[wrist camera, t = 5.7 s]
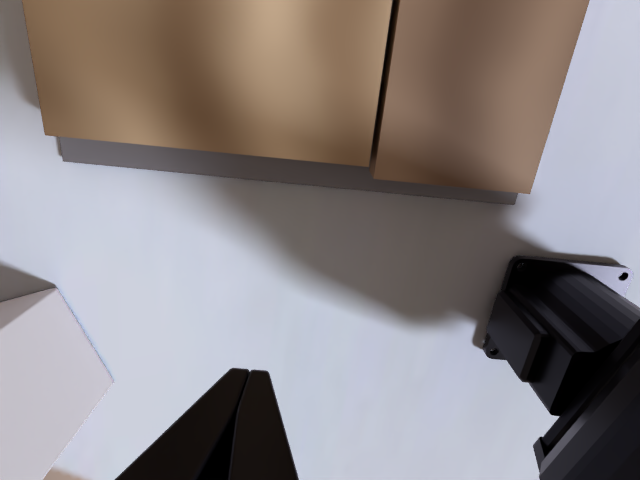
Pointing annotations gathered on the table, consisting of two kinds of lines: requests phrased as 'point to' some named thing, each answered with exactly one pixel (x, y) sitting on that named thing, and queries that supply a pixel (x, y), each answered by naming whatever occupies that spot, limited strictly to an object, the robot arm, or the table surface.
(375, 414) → the table surface
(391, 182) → the underlay mat
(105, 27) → the oak plank
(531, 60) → the walnut plank
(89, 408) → the milk carton
